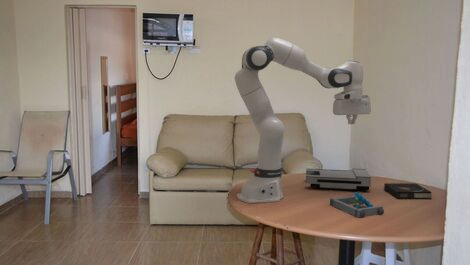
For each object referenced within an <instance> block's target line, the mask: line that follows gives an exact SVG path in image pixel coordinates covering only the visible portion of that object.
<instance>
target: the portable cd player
mask: <svg viewBox="0 0 470 265" xmlns="http://www.w3.org/2000/svg"><path fill="white" fill-rule="evenodd" d="M383 191H384V192H386V193H388V194H389V195H390V196H392V197H393V198H395V199H396V200H432V198H433V197H432V191H430V190H429V189H427V188H425V187H423V186H421V185H419V184H418V183H415V182H414V183H412V182H411V183H403V182H402V183H401V182H400V183H399V182H398V183H396V182H395V183H394V182H393V183H392V182H391V183H386V182H385V183H384V185H383Z"/></svg>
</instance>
